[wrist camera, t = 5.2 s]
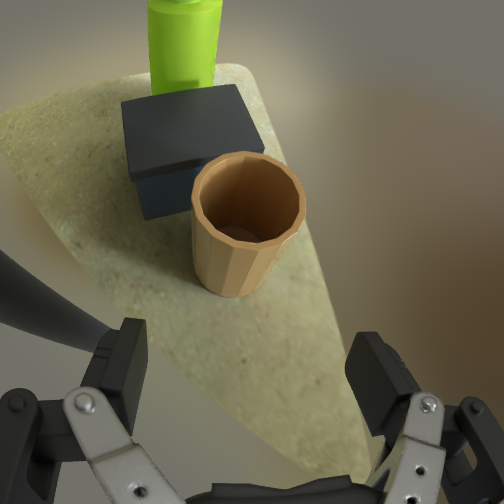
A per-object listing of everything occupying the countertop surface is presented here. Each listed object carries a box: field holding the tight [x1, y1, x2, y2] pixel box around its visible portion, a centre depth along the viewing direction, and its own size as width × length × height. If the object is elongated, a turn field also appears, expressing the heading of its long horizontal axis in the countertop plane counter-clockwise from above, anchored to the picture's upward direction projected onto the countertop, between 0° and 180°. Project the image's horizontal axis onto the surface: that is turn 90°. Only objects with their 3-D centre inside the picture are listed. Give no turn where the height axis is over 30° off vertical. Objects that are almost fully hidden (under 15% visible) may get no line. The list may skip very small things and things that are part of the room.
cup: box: [191, 151, 306, 298], centre depth 21 cm, size 6×6×10 cm
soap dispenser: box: [147, 0, 223, 96], centre depth 21 cm, size 6×7×20 cm
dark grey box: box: [121, 84, 265, 220], centre depth 24 cm, size 9×7×7 cm
